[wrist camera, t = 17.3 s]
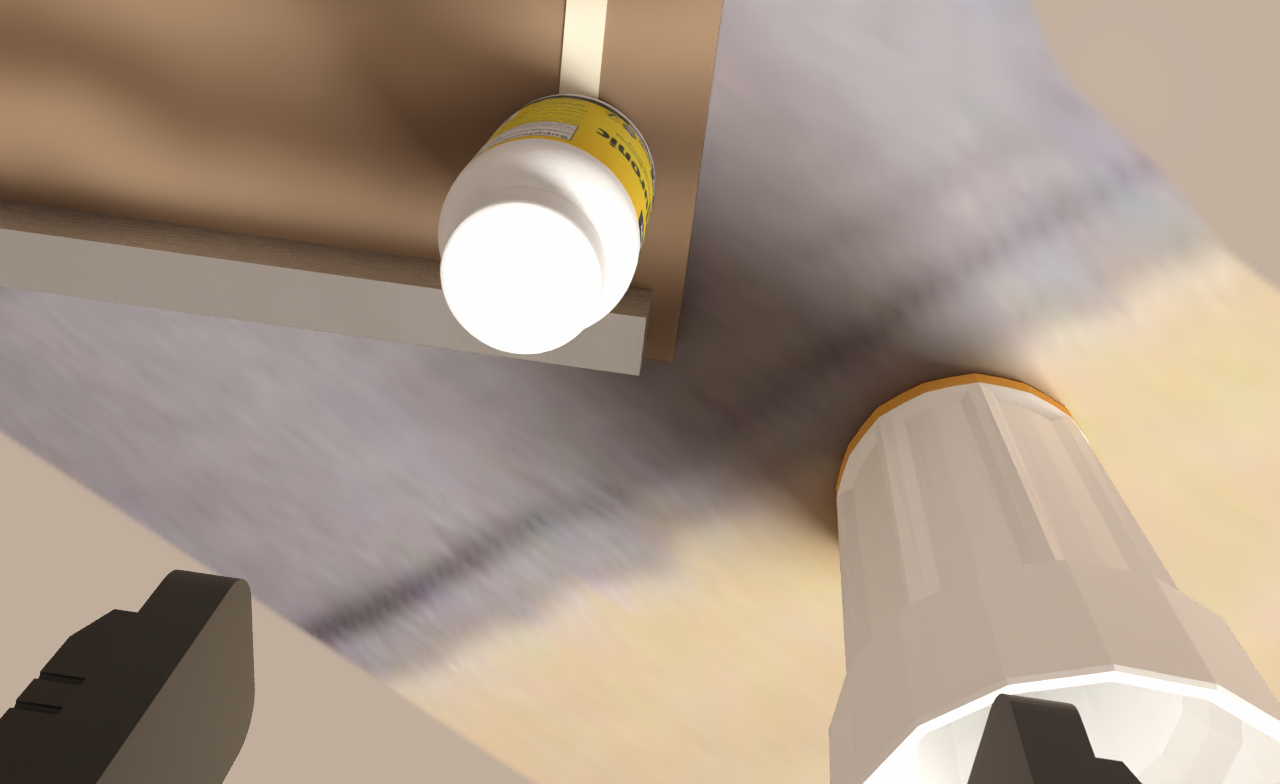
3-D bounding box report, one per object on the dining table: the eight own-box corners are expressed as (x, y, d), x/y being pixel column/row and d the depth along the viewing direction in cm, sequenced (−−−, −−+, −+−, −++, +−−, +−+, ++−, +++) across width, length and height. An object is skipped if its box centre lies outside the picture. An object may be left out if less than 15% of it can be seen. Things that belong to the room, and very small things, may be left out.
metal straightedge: (-115, 184, 40) (-167, 205, 38) (652, 289, 39) (646, 318, 37) (-105, 240, 41) (-155, 264, 38) (645, 344, 40) (639, 375, 38)
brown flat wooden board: (-177, -200, 36) (-215, -201, 35) (735, -83, 35) (733, -79, 34) (-103, 236, 42) (-133, 251, 41) (675, 345, 41) (673, 363, 40)
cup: (888, 295, 40) (973, 597, 24) (1190, 412, 41) (1457, 776, 25) (757, 555, 45) (758, 945, 29) (1029, 654, 46) (1171, 1084, 30)
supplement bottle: (670, 245, 38) (645, 371, 29) (508, 266, 39) (436, 395, 30) (643, 76, 36) (607, 158, 27) (471, 102, 37) (382, 189, 28)
